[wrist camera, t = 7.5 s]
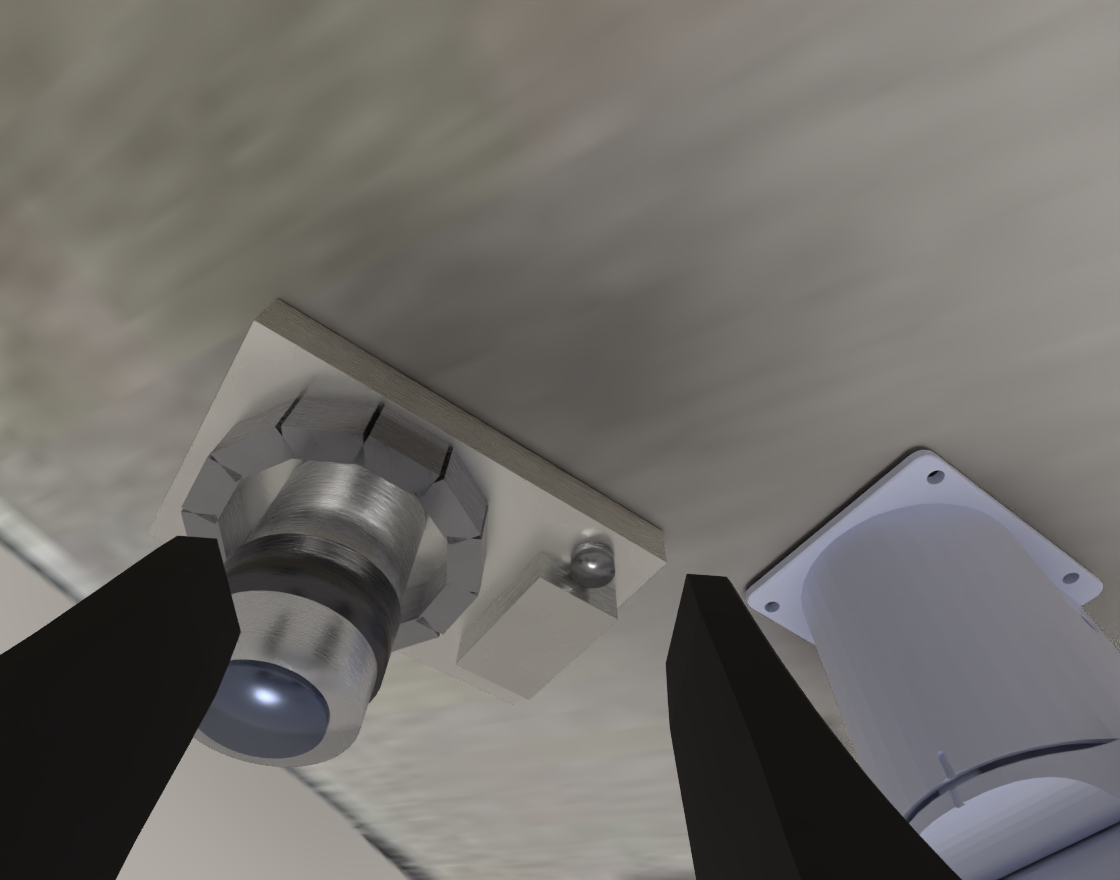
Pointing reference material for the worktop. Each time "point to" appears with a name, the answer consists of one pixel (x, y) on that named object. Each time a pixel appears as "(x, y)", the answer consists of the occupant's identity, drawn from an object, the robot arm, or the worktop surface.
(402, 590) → the lens
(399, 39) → the worktop surface
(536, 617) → the octagonal collar plate
